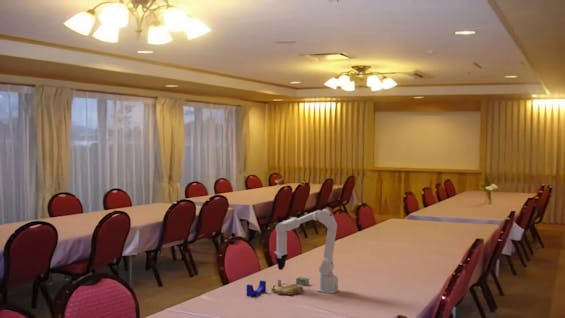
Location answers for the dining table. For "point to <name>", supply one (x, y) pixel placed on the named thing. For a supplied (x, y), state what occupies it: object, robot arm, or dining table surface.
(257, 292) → the cable clip
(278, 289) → the sprocket wheel
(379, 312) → the dining table surface
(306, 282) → the link block
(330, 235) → the robot arm
